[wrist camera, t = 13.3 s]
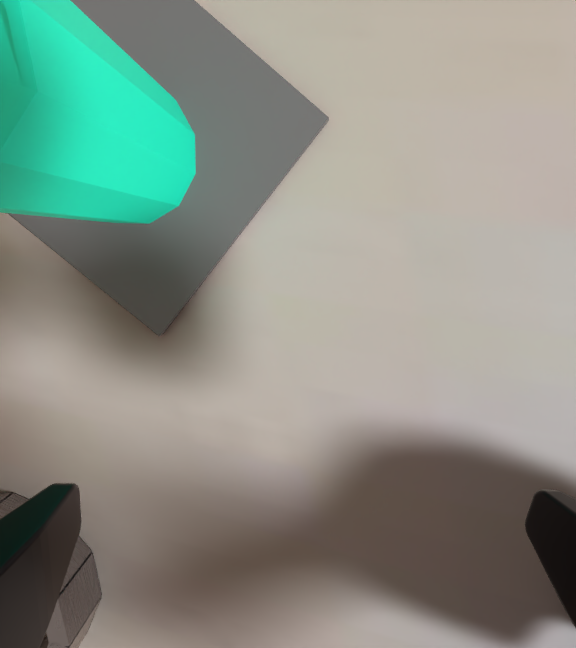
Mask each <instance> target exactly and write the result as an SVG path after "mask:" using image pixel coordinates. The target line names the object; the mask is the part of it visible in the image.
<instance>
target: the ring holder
mask: <svg viewBox="0 0 576 648" xmlns="http://www.w3.org/2000/svg"><path fill="white" fill-rule="evenodd" d="M27 500H28V499H26V498H24V497H22V496H20V495H17V494H15V493H13V494H12V493H11V492H9V493H0V519H1V518H2V517H4V516H5V515H6V514H8V513H9V512H11V511H12V510H14V509H15V508H17V507H18V506H20V505H21V504H23V503H24V502H26V501H27ZM90 552H91V550H90V549H89V547H88V546H87V545H86V544H85V543H84V542H83V540H82V539H81V538H80V537H79V536H78V539H77V542H76V545H75V548H74V551H73V554H72V557H71V560H70V563H69V566H68V569H67V573H66V576H65V579H64V582H63V585H62V588H61V591H60V594H59V597H58V600H57V603H56V606H55V609H54V612H53V615H52V618H51V621H50V623H49V626H48V628H47V631H46V633H47V638H46V639H43V640H42V643H41V645H40V647H39V648H78V647H79V645H80V643H81V642H82V640H83V639H84V637H85V635H86V634H87V632H88V630H89V627H90V625H91V622H92V620H93V617H94V615H95V612H96V610H97V607H98V605H99V602H100V600H101V595H102V593H101V589H100V584H99V580H98V575H97V571H96V566H95V562H94V557H93V553H90Z"/></svg>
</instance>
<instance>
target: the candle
mask: <svg viewBox="0 0 576 648" xmlns="http://www.w3.org/2000/svg"><path fill="white" fill-rule="evenodd" d="M195 174H196V163H195V134H194V132H193V130H192V128H191V127H190V125H189V123H188V121H187V119H186V117H185V116H184V114H183V112H182V110H181V108H180V106H179V105H178V103H177V101H176V100H175V99H174V98H173V97H172V96H171V95H170V94H169V93H168V92H167V91H166V90H165V89H164V88H163V87H162V86H161V85H159V84H158V83H157V82H156V81H155V80H154V79H153V78H152V77H151V76H150V75H149V74H148V73H147V72H146V71H145V70H144V69H143V68H141V67H140V66H139V65H138V64H137V63H136V62H135V61H134V60H133V59H132V58H131V57H130V56H129V55H128V54H127V53H126V52H124V51H123V50H122V49H121V48H120V47H119V46H118V45H117V44H116V43H115V42H114V41H113V40H112V39H111V38H110V37H109V36H108V35H106V34H105V33H104V32H103V31H102V30H101V29H100V28H99V27H98V26H97V25H96V24H95V23H94V22H93V21H92V20H91V19H90V18H88V17H87V16H86V15H85V14H84V13H83V12H82V11H81V10H80V9H79V8H78V7H77V6H76V5H75V4H74V3H73V2H72V1H70V0H0V212H1V213H12V214H23V215H34V216H45V217H56V218H67V219H78V220H89V221H100V222H111V223H143V224H150V223H151V222H153V221H155V220H156V219H158V218H160V217H161V216H163V215H165V214H166V213H168V212H170V211H171V210H173V209H175V208H176V207H178V206H179V205H180V203H181V201H182V199H183V197H184V195H185V193H186V191H187V189H188V187H189V185H190V184H191V182H192V180H193V178H194V176H195Z"/></svg>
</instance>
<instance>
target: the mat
mask: <svg viewBox="0 0 576 648" xmlns="http://www.w3.org/2000/svg"><path fill="white" fill-rule="evenodd" d="M70 1H72V2H73V3H74V4H75V5H76V6H77V7H78V8H79V9H80V10H81V11H82V12H83V13H84V14H85V15H86V16H87V17H88V18H90V19H91V20H92V21H93V22H94V23H95V24H96V25H97V26H98V27H99V28H100V29H101V30H102V31H103V32H104V33H105V34H106V35H108V36H109V37H110V38H111V39H112V40H113V41H114V42H115V43H116V44H117V45H118V46H119V47H120V48H121V49H122V50H123V51H124V52H126V53H127V54H128V55H129V56H130V57H131V58H132V59H133V60H134V61H135V62H136V63H137V64H138V65H139V66H140V67H141V68H143V69H144V70H145V71H146V72H147V73H148V74H149V75H150V76H151V77H152V78H153V79H154V80H155V81H156V82H157V83H158V84H159V85H161V86H162V87H163V88H164V89H165V90H166V91H167V92H168V93H169V94H170V95H171V96H172V97H173V98H174V99H175V100H176V101H177V103H178V105H179V106H180V108H181V110H182V112H183V114H184V116H185V117H186V119H187V121H188V123H189V125H190V127H191V128H192V130H193V132H194V134H195V163H196V174H195V176H194V178H193V180H192V182H191V184H190V185H189V187H188V189H187V191H186V193H185V195H184V197H183V199H182V201H181V203H180V205H179V206H178V207H176V208H175V209H173V210H171V211H170V212H168V213H166V214H165V215H163V216H161V217H160V218H158V219H156V220H155V221H153V222H151V223H150V224H143V223H111V222H100V221H89V220H78V219H67V218H56V217H45V216H34V215H23V214H12V213H8V214H9V215H11V216H12V217H13V218H14V219H15V220H17V221H18V222H19V223H20V224H22V225H23V226H24V227H25V228H27V229H28V230H29V231H30V232H31V233H33V234H34V235H35V236H36V237H38V238H39V239H40V240H41V241H43V242H44V243H45V244H46V245H47V246H49V247H50V248H51V249H52V250H54V251H55V252H56V253H57V254H59V255H60V256H61V257H62V258H63V259H65V260H66V261H67V262H68V263H70V264H71V265H72V266H73V267H75V268H76V269H77V270H78V271H79V272H81V273H82V274H83V275H84V276H86V277H87V278H88V279H89V280H91V281H92V282H93V283H94V284H95V285H97V286H98V287H99V288H100V289H102V290H103V291H104V292H105V293H107V294H108V295H109V296H110V297H111V298H113V299H114V300H115V301H116V302H118V303H119V304H120V305H121V306H123V307H124V308H125V309H126V310H127V311H129V312H130V313H131V314H132V315H134V316H135V317H136V318H137V319H139V320H140V321H141V322H142V323H143V324H145V325H146V326H147V327H148V328H150V329H151V330H152V331H153V332H155V333H156V334H157V335H158V336H161V335H162V334H163V333H164V332H165V331H166V329H167V328H168V327H169V325H170V324H171V323H172V322H173V320H174V319H175V318H176V316H177V315H178V314H179V313H180V311H181V310H182V309H183V307H184V306H185V305H186V304H187V302H188V301H189V300H190V298H191V297H192V296H193V294H194V293H195V292H196V291H197V289H198V288H199V287H200V285H201V284H202V283H203V282H204V280H205V279H206V278H207V276H208V275H209V274H210V273H211V271H212V270H213V269H214V267H215V266H216V265H217V264H218V262H219V261H220V260H221V258H222V257H223V256H224V255H225V253H226V252H227V251H228V249H229V248H230V247H231V246H232V244H233V243H234V242H235V240H236V239H237V238H238V236H239V235H240V234H241V233H242V231H243V230H244V229H245V227H246V226H247V225H248V224H249V222H250V221H251V220H252V218H253V217H254V216H255V215H256V213H257V212H258V211H259V209H260V208H261V207H262V206H263V204H264V203H265V202H266V200H267V199H268V198H269V197H270V195H271V194H272V193H273V191H274V190H275V189H276V188H277V186H278V185H279V184H280V182H281V181H282V180H283V178H284V177H285V176H286V175H287V173H288V172H289V171H290V169H291V168H292V167H293V166H294V164H295V163H296V162H297V160H298V159H299V158H300V157H301V155H302V154H303V153H304V151H305V150H306V149H307V148H308V146H309V145H310V144H311V142H312V141H313V140H314V139H315V137H316V136H317V135H318V133H319V132H320V131H321V130H322V128H323V127H324V126H325V124H326V123H327V122H328V120H329V117H327V116H326V115H325V114H324V113H323V112H322V111H321V110H319V109H318V108H317V107H316V106H315V105H314V104H313V103H311V102H310V101H309V100H308V99H307V98H306V97H304V96H303V95H302V94H301V93H300V92H299V91H298V90H296V89H295V88H294V87H293V86H292V85H291V84H290V83H288V82H287V81H286V80H285V79H284V78H283V77H282V76H280V75H279V74H278V73H277V72H276V71H275V70H274V69H272V68H271V67H270V66H269V65H268V64H267V63H265V62H264V61H263V60H262V59H261V58H260V57H259V56H257V55H256V54H255V53H254V52H253V51H252V50H251V49H249V48H248V47H247V46H246V45H245V44H244V43H243V42H241V41H240V40H239V39H238V38H237V37H236V36H235V35H233V34H232V33H231V32H230V31H229V30H228V29H227V28H225V27H224V26H223V25H222V24H221V23H220V22H218V21H217V20H216V19H215V18H214V17H213V16H212V15H210V14H209V13H208V12H207V11H206V10H205V9H204V8H202V7H201V6H200V5H199V4H198V3H197V2H196V1H194V0H70Z"/></svg>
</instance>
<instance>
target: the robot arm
mask: <svg viewBox="0 0 576 648" xmlns="http://www.w3.org/2000/svg"><path fill="white" fill-rule="evenodd" d="M80 527H81V510H80V495H79V488H78V486H77V485H76V484H74V483H54V484H52V485H50V486H48V487H47V488H45V489H44V490H42V491H41V492H39V493H38V494H36V495H35V496H33V497H32V498H30V499H29V500H27V501H26V502H24V503H23V504H21V505H20V506H18V507H17V508H15V509H14V510H12V511H11V512H9V513H8V514H6V515H5V516H4V517H2V518H1V519H0V648H39V647H40V645H41V643H42V640H43V638H44V636H45V633H46V631H47V628H48V626H49V623H50V621H51V618H52V615H53V612H54V609H55V606H56V603H57V600H58V597H59V594H60V591H61V588H62V585H63V582H64V579H65V576H66V573H67V569H68V566H69V563H70V560H71V557H72V554H73V551H74V548H75V545H76V542H77V539H78V536H79V532H80ZM525 527H526V532H527V535H528V537H529V539H530V541H531V543H532V545H533V547H534V549H535V551H536V553H537V555H538V557H539V559H540V561H541V563H542V565H543V567H544V569H545V571H546V573H547V575H548V577H549V579H550V581H551V583H552V585H553V587H554V589H555V591H556V593H557V595H558V597H559V599H560V601H561V603H562V605H563V606H564V608H565V610H566V612H567V614H568V616H569V617H570V619H571V621H572V623H573V624H574V626H575V628H576V499H575V498H573V497H571V496H569V495H567V494H565V493H563V492H561V491H558V490H539V491H537V492H536V493H535V494H534V497H533V500H532V503H531V506H530V509H529V512H528V515H527V518H526V522H525Z"/></svg>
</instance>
